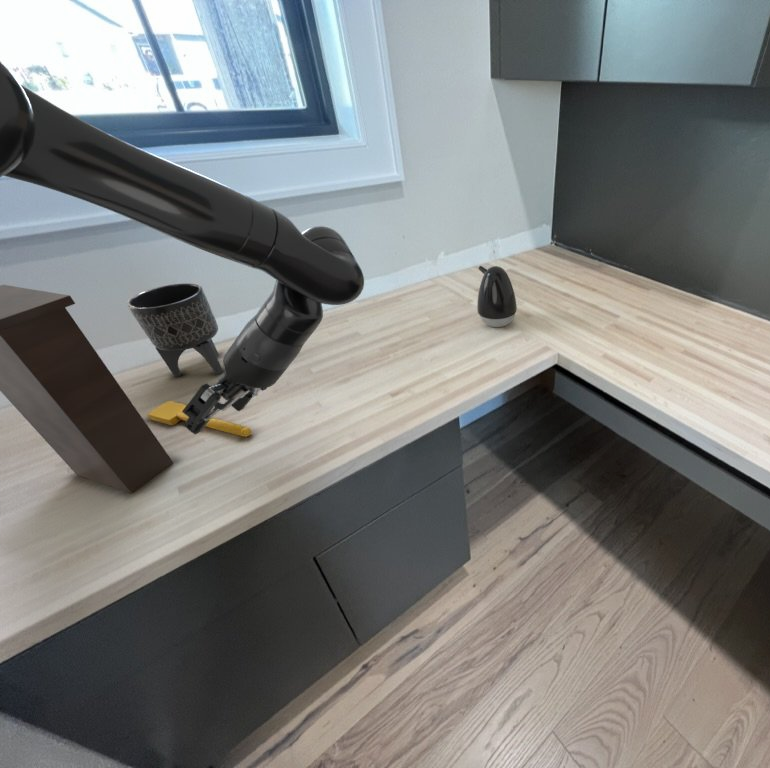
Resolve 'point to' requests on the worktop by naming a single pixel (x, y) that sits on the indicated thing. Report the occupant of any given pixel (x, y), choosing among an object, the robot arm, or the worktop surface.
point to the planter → (177, 322)
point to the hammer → (174, 414)
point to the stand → (72, 392)
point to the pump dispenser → (496, 297)
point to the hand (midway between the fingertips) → (214, 417)
